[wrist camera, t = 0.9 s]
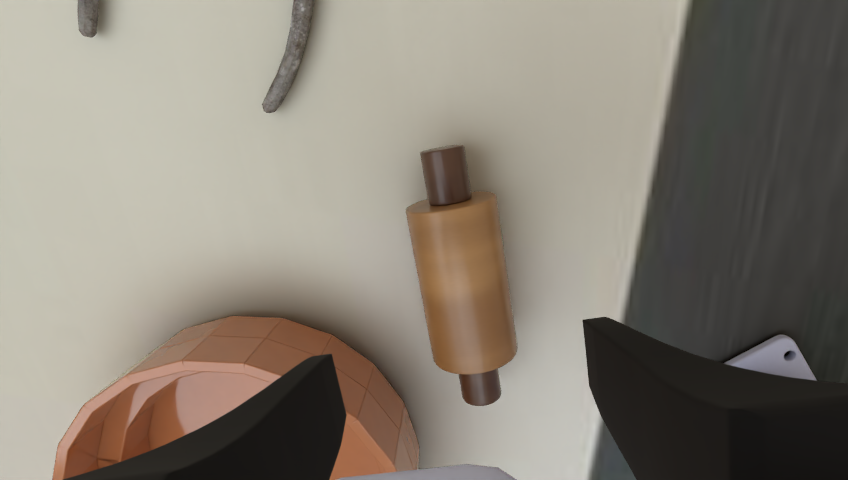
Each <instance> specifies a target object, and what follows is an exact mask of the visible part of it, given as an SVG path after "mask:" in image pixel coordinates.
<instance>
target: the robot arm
mask: <svg viewBox="0 0 848 480" xmlns="http://www.w3.org/2000/svg"><path fill="white" fill-rule="evenodd" d="M583 327H584V337H585V347H586V357H587V367H588V377H589V386H590V389H591V391H592V394H593V397H594V399H595V402H596V404H597V407H598V409H599V412H600V414H601V417H602V418H603V420H604V422H605V424H606V426H607V428H608V429H609V431H610V433H611V435H612V437H613V438H614V440H615V442H616V444H617V445H618V447H619V449H620V451H621V453H622V454H623V456H624V458H625V460H626V461H627V463H628V465H629V467H630V469H631V470H632V472H633V474H634V476H635V477H636V479H637V480H848V383H837V382H824V381H817V380H816V378H815V376H814V375H813V373H812V371H811V369H810V368H809V366H808V364H807V362H806V361H805V359H804V357H803V355H802V354H801V352H800V350H799V348H798V347H797V345H796V343H795V341H794V340H793V339H791V338H790V337H788V336H786V335H777V336H774V337H773V338H771V339H769V340H767V341H765V342H763V343H761V344H759V345H757V346H755V347H753V348H752V349H750V350H748V351H746V352H744V353H742V354H740V355H738V356H736V357H734V358H733V359H731V360H729V361H727V362H725V363H720V362H717V361H714V360H710V359H707V358H703V357H700V356H697V355H694V354H691V353H689V352H686V351H683V350H681V349H678V348H675V347H673V346H670V345H668V344H665V343H663V342H661V341H658V340H656V339H654V338H652V337H649V336H647V335H645V334H643V333H641V332H638V331H636V330H634V329H632V328H630V327H628V326H626V325H624V324H622V323H619V322H617V321H615V320H613V319H610V318H607V317H601V318H593V319H586V320H583ZM787 351H790V353H789V354H788V355H787V356H785V357H784V354H785V353H786V352H787ZM346 416H347V414H346V410H345V406H344V402H343V398H342V394H341V390H340V386H339V381H338V377H337V373H336V369H335V365H334V361H333V357H332V354H325V355H318V356H311V357H309V358H307V359H306V360H304V361H302V362H301V363H299V364H298V365H296V366H295V367H294V368H292V369H291V370H289V371H288V372H287V373H285V374H284V375H283V376H281V377H280V378H278V379H277V380H276V381H274V382H273V383H271V384H270V385H269V386H267V387H266V388H265V389H263V390H262V391H260V392H259V393H257V394H256V395H254V396H253V397H251V398H250V399H248V400H247V401H245V402H244V403H242V404H241V405H239V406H238V407H236V408H235V409H233V410H231V411H230V412H228V413H226V414H225V415H223V416H221V417H219V418H218V419H216V420H214V421H212V422H210V423H209V424H207V425H205V426H203V427H201V428H199V429H197V430H195V431H193V432H191V433H189V434H187V435H184V436H182V437H180V438H178V439H176V440H174V441H172V442H169V443H167V444H165V445H163V446H160V447H158V448H155V449H153V450H151V451H148V452H146V453H143V454H140V455H138V456H135V457H132V458H130V459H127V460H124V461H121V462H118V463H115V464H113V465H109V466H106V467H103V468H100V469H96V470H93V471H90V472H87V473H83V474H80V475H77V476H73V477H70V478H66V479H63V480H329V479H330V476H331V474H332V471H333V468H334V465H335V462H336V459H337V456H338V453H339V450H340V447H341V443H342V438H343V433H344V427H345V421H346ZM337 480H516V479H515V478H513V477H512V476H510V475H509V474H507V473H506V472H504V471H502V470H501V469H499V468H496V467H487V466H479V465H470V464H465V465H455V466H446V467H437V468H427V469H418V470H409V471H399V472H390V473H381V474H371V475H362V476H353V477H343V478H339V479H337Z"/></svg>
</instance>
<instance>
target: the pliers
mask: <svg viewBox="0 0 848 480" xmlns="http://www.w3.org/2000/svg"><path fill="white" fill-rule="evenodd" d="M313 3H314V0H294V3H293V11H292V20H291V27H290V32H289V36H288V41H287V45H286V50H285V53H284V56H283V59H282V62H281V64H280V67H279V70H278V73H277V75H276V77H275V79H274V81H273V83H272V85H271V87H270V89H269V91H268V93H267V95H266V97H265V99H264V102H263V104H262V105H263V109H264V111H265V112H266V113H271V112H275V111H276V110H277V108H278V107H279V105H280V104H281V102H282V101H283V100H284V98H285V96H286V94H287V92H288V90H289V88H290V86H291V84H292V82H293V80H294V77H295V75H296V72H297V70H298V67H299V64H300V62H301V59H302V56H303V52H304V48H305V45H306V41H307V37H308V33H309V28H310V22H311V17H312V11H313ZM97 21H98V0H78V24H79V31H80V32H81V33H82V35H83V36H87V37H93V36H94V35H95V34H97Z"/></svg>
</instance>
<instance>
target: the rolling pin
mask: <svg viewBox="0 0 848 480" xmlns="http://www.w3.org/2000/svg"><path fill="white" fill-rule="evenodd" d="M420 155H421V161H422V167H423V172H424V178H425V184H426V190H427V195H428V199H426V200H423V201H420V202H417V203H415V204H412V205H411V206H409V207H408V208H407V209H406V215H407V220H408V225H409V231H410V236H411V242H412V247H413V252H414V258H415V263H416V268H417V274H418V279H419V284H420V290H421V295H422V301H423V306H424V311H425V317H426V322H427V327H428V333H429V338H430V343H431V349H432V354H433V359H434V362H435V363H436V365H437V366H438V367H439V368H441V369H443V370H445V371H447V372H451V373H455V374H459V379H460V385H461V391H462V397H463V399H464V400H465V402H467V403H468V404H470V405H474V406H484V405H489V404H491V403H494V402H495V401H497V400H498V399H499V397H500V395H501V387H500V380H499V374H498V368H500V367H502V366H504V365H505V364H507V363H508V362H509V361H511V360H512V359H513V358H514V356H515V355H516V352H517V342H516V334H515V327H514V320H513V313H512V305H511V298H510V291H509V284H508V277H507V269H506V262H505V255H504V248H503V240H502V233H501V226H500V219H499V212H498V204H497V197H496V194H494V193H491V192H483V191H478V192H471V189H470V182H469V175H468V169H467V162H466V156H465V149H464V145H451V146H445V147H439V148H434V149H429V150H425V151H422V152H421V153H420Z"/></svg>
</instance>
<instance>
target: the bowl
mask: <svg viewBox="0 0 848 480" xmlns="http://www.w3.org/2000/svg"><path fill="white" fill-rule="evenodd" d="M325 354H332V357H333V361H334V365H335V369H336V373H337V377H338V381H339V386H340V390H341V394H342V398H343V402H344V406H345V410H346V414H347V416H346V421H345V427H344V433H343V438H342V443H341V447H340V450H339V453H338V456H337V459H336V462H335V465H334V468H333V471H332V474H331V476H330V479H329V480H337V479H339V478H343V477H353V476H362V475H371V474H381V473H390V472H399V471H409V470H418V469H419V443H418V441H417V438H416V435H415V432H414V429H413V426H412V423H411V421H410V418H409V415H408V412H407V409H406V406H405V404H404V402H403V400H402V399H401V398H400V397H399V395H398V394H397V393H396V391H395V390H394V389H393V388H392V386H391V385H390V384H389V382H388V381H387V380H386V379H385V377H384V376H383V375H382V374H381V372H380V371H379V370H378V368H377V367H376V366H375V365H374V364H373V363H372V362H371V361H369V360H368V359H366V358H365V357H363V356H362V355H361V354H359V353H358V352H356V351H355V350H353V349H352V348H351V347H349V346H348V345H346V344H345V343H343V342H342V341H341V340H339V339H338V338H336V337H335V336H334V335H331V334H328V333H325V332H323V331H320V330H317V329H314V328H311V327H308V326H305V325H302V324H299V323H296V322H293V321H290V320H287V319H284V318H283V319H282V318H271V317H247V316H229V317H225V318H222V319H218V320H214V321H211V322H207V323H204V324H200V325H196V326H193V327H189V328H186V329H184V330H182V331H180V332H179V333H178V334H176V335H175V336H173V337H172V338H170V339H169V340H168V341H166V342H165V343H163V344H162V345H160V346H159V347H158V348H156V349H155V350H153V351H152V352H150V353H149V354H148V355H146V356H145V357H144V358H143V359H141V360H140V361H139V362H137V363H136V364H135V365H134V366H132V367H131V368H130V369H128V370H127V371H126V372H125V373H123V374H122V375H121V376H120V377H118V378H117V379H116V380H114V381H113V382H112V383H110V384H109V385H108V386H107V387H105V388H104V389H103V390H101V391H100V392H99V393H98V394H96V395H95V396H94V397H92V398H91V399H90V400H89V401H87V402H86V403H85V404H84V405H83V406H82V408H81V409H80V411H79V413H78V414H77V416H76V417H75V419H74V421H73V422H72V424H71V425H70V427H69V428H68V430H67V432H66V433H65V435H64V436H63V438H62V439H61V441H60V443H59V444H58V447H57V454H56V460H55V466H54V472H53V478H52V480H63V479H66V478H70V477H73V476H77V475H80V474H83V473H87V472H90V471H93V470H96V469H100V468H103V467H106V466H109V465H113V464H115V463H118V462H121V461H124V460H127V459H130V458H132V457H135V456H138V455H140V454H143V453H146V452H148V451H151V450H153V449H155V448H158V447H160V446H163V445H165V444H167V443H169V442H172V441H174V440H176V439H178V438H180V437H182V436H184V435H187V434H189V433H191V432H193V431H195V430H197V429H199V428H201V427H203V426H205V425H207V424H209V423H210V422H212V421H214V420H216V419H218V418H219V417H221V416H223V415H225V414H226V413H228V412H230V411H231V410H233V409H235V408H236V407H238V406H239V405H241V404H242V403H244V402H245V401H247V400H248V399H250V398H251V397H253V396H254V395H256V394H257V393H259V392H260V391H262V390H263V389H265V388H266V387H267V386H269V385H270V384H271V383H273V382H274V381H276V380H277V379H278V378H280V377H281V376H283V375H284V374H285V373H287V372H288V371H289V370H291V369H292V368H294V367H295V366H296V365H298V364H299V363H301V362H302V361H304V360H306V359H307V358H309V357H311V356H318V355H325Z"/></svg>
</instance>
